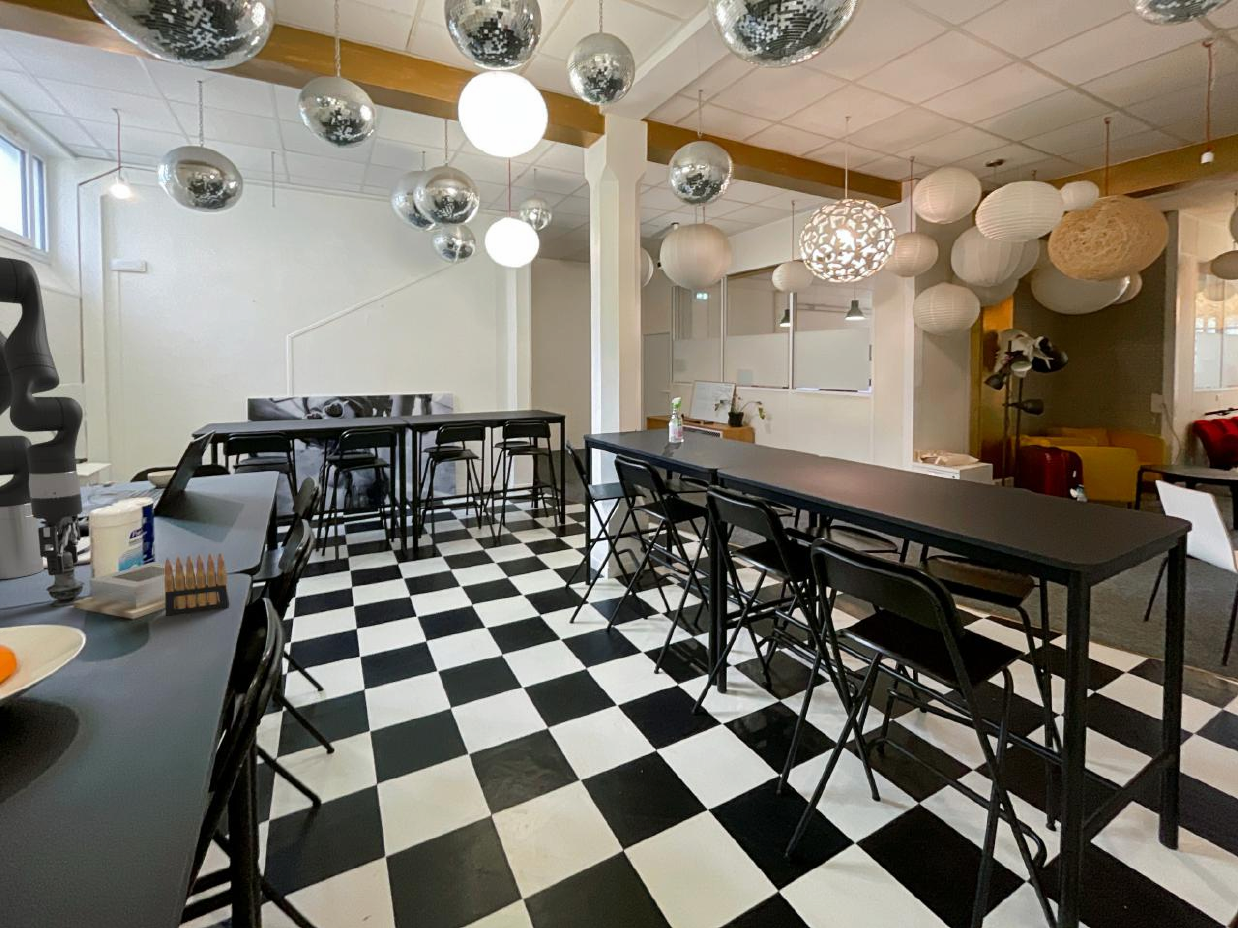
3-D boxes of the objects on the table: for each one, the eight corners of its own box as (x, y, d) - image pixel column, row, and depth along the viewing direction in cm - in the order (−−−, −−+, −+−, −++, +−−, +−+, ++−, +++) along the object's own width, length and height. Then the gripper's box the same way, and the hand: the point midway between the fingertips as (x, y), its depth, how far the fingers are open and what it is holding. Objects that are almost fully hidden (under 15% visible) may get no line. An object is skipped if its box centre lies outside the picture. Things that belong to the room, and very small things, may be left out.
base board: (73, 607, 119) (73, 602, 119) (158, 581, 136) (158, 576, 136) (133, 619, 115) (133, 613, 115) (213, 590, 131) (213, 585, 131)
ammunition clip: (165, 616, 117) (160, 559, 115) (167, 613, 118) (162, 557, 117) (228, 608, 122) (225, 553, 120) (229, 605, 124) (226, 551, 122)
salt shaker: (92, 599, 124) (87, 546, 122) (58, 609, 118) (52, 553, 117) (75, 595, 126) (70, 542, 124) (41, 604, 120) (35, 549, 119)
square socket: (91, 600, 121) (89, 579, 120) (155, 580, 133) (154, 561, 132) (136, 608, 117) (134, 587, 117) (198, 587, 130) (197, 568, 129)
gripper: (67, 497, 114) (76, 576, 116) (90, 486, 127) (97, 557, 129) (16, 500, 111) (25, 581, 113) (44, 489, 123) (52, 562, 125)
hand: (64, 568), depth 121 cm, fingers open, 8 cm apart
